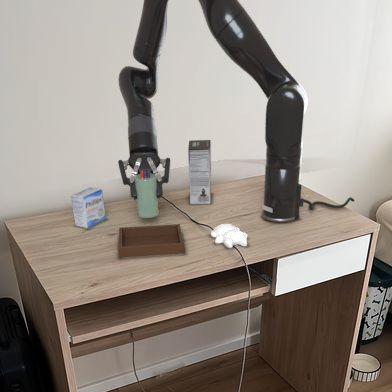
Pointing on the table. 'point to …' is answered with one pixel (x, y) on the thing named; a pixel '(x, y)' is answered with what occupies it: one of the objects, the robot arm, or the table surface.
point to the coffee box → (200, 171)
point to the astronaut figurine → (229, 235)
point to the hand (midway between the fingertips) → (147, 197)
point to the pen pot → (146, 194)
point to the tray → (150, 240)
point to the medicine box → (88, 207)
